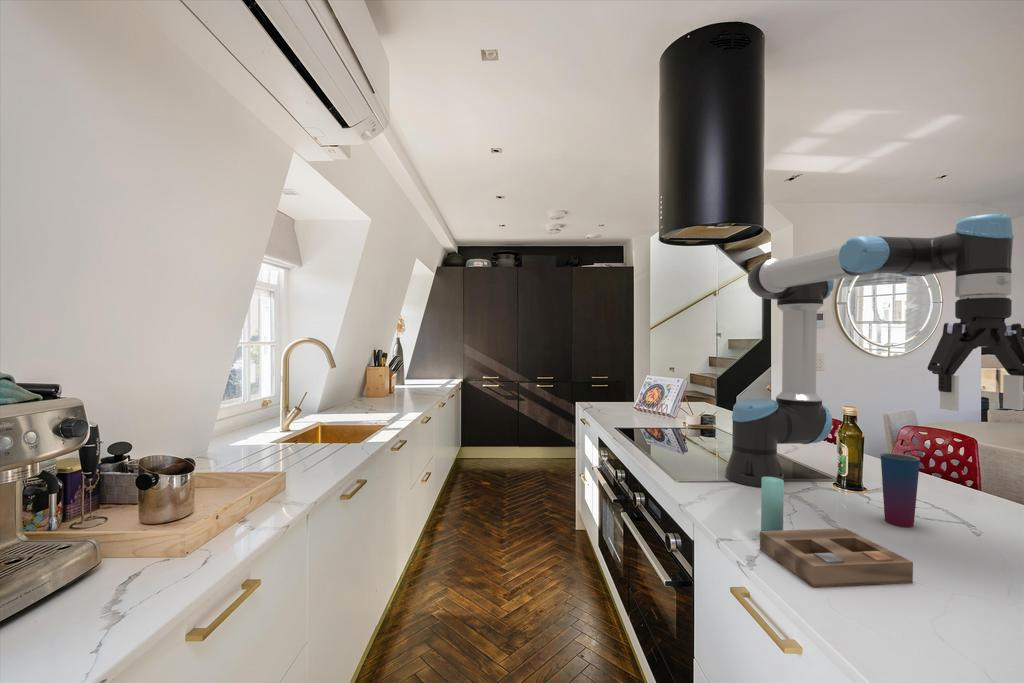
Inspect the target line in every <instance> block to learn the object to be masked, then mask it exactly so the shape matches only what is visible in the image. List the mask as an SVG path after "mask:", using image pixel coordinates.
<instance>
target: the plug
mask: <svg viewBox="0 0 1024 683" xmlns="http://www.w3.org/2000/svg"><path fill="white" fill-rule="evenodd" d="M784 482H785V480H782V479H780V478H775V477H762V487H761V492H760V493H761V494H760V495H761V496H760V497H761V505H760V507H761V508H760V514H761V515H760V517H761V519H760V531H781V530H784V503H785V502H784V501H785V500H784V497H785V496H784V490H785V489H784V488H785V484H784Z"/></svg>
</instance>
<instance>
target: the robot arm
mask: <svg viewBox="0 0 1024 683" xmlns="http://www.w3.org/2000/svg"><path fill="white" fill-rule="evenodd" d="M1012 224H1013V223H1012V218H1011V217H1010V216H1009V215H1008V214H1004V213H987V214H979V215H978V214H977V215H973V216H967V217H965V218H963V219H960V220H959V221H957V223H956V226H955V229H954V231H955V232H953V233H949V234H946V235H945V234H944V235H940V236H936V237H904V236H903V237H902V236H883V235H882V236H879V235H878V236H877V235H874V234H873V235H871V234H870V235H869V234H867V235H862V236H861V235H859V236H853V237H850V238H848V239H847V240H846V242H844V243H843V244H841V245H836V246H832V247H830V248H829V247H828V248H825V249H821V250H817V251H813V252H808V253H805V254H801V255H796V256H792V257H787V258H784V259H782V258H777V257H774V258H773V257H772V258H768V259H765V260H761V261H759V262H758V263H755V264H754V265H753V266H752V268H751V269H750V270H749V273H748V276H747V284H748V287H749V289H750V290H751V292H752V293H753V294H755V295H756V296H758V297H760V298H762V299H766V300H776V302H777V303H776V306H777V308H778V309H779V310H780V311H781V312H782V351H781V352H782V357H781V358H782V362H781V363H782V364H781V366H782V367H781V369H782V370H781V375H782V376H781V392H780V393H778V394H777V395H776V397H775V399H771V398H750V399H743V400H738V401H737V402H735V404H734V405H733V407H732V408H733V409H732V415H731V419H732V440H731V441H732V444H731V445H732V451H731V454H730V456H729V459H728V462H727V464H726V467H725V477H726V479H728V480H730V481H731V482H734V483H737V484H741V485H745V486H750V487H751V486H752V487H759V488H762V477H775V478H780V479H782V480H784V479H785V476H784V472H783V469H782V467H781V464H780V461H779V459H778V445H784V444H785V445H786V444H789V445H791V444H793V445H794V444H796V445H797V444H798V445H799V444H801V445H809V444H816V443H817V444H818V443H821V442H823V441H824V440H825V439H826V438H828V436H830V433H831V431H832V428H833V417H832V414H831V413H830V410H829V409H828V407H826V406H825V405H824V404H823V398H821V397H820V396H819V395H818V394H817V344H818V343H817V337H818V335H817V333H818V332H817V331H818V329H817V327H818V325H817V324H818V322H817V321H818V320H817V319H818V311H819V310H820V309H821V308H822V307H823V306H824V300H826V299H828V297H830V295H831V292H832V291H833V290H834V286H835V285H834V284H835V280H840V279H845V278H846V279H847V278H851V277H857V276H866V275H871V274H900V275H902V276H903V277H910V278H911V277H925V276H928V275H936V274H940V273H941V274H942V273H948V272H953V271H954V272H955V279H954V280H955V282H954V286H955V287H954V289H955V290H954V296H955V297H956V298H959V299H957V300H956V301H955V303H954V308H955V309H954V313H955V314H954V317H955V319H957V320H960V321H959V322H945V323H944V324H943V327H942V328H943V329H942V335H941V337H940V339H939V341H938V343H937V346H936V348H935V350H934V352H933V354H932V356H931V357H930V358H931V359H930V360H929V363H928V365H927V370H928V371H929V372H931V373H932V374H933V375H938V382H937V385H938V387H937V388H938V392H939V409H941V410H946V411H947V410H948V411H957V412H959V406H960V405H959V404H960V403H959V400H960V399H959V398H960V397H959V395H960V394H959V393H960V391H959V390H960V388H959V386H960V375H955V374H956V372H957V371H958V370H959V369H960V367H961V366H962V365H963V363H964V362H965V361H966V359H967V358H968V357H969V355H970V354H971V353H972V352H973V351H974V350H975V349H977V348H984V347H985V348H987V349H988V350H991V352H992V354H993V355H994V356H995V358H996V359H997V360H998V361H999V363H1000V365H1001V366H1002V367H1003V368H1004V370H1005V371H1006V373H1007V374H1003V375H1002V376H1003V380H1002V381H1003V382H1002V383H1003V384H1002V385H1003V386H1002V392H1003V393H1002V409H1007V410H1012V411H1013V410H1014V411H1024V336H1023V330H1022V329H1023V328H1022V324H1021V323H1006V322H1005V321H1006V320H1007V319H1009V318H1011V317H1012V308H1013V306H1012V305H1013V304H1012V300H1013V299H1011V298H1010V297H1007V296H1011V294H1012V273H1013V270H1012V255H1013V244H1014V242H1013V241H1014V238H1015V237H1014V235H1013V225H1012ZM784 481H785V480H784Z"/></svg>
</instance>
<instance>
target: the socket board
mask: <svg viewBox="0 0 1024 683" xmlns="http://www.w3.org/2000/svg"><path fill="white" fill-rule="evenodd" d="M759 550H760V551H761V552H763V553H765V554H766V555H768V556H769V557H770V558H772V559H773V560H775V561H776V562H777V563H779V564H781V566H783V567H784V568H786V569H787V570H789V571H790V572H791V573H792V574H794V575H796V576H797V577H798V578H800V579H801V580H802V581H804V582H806V583H807V584H808V585H810V586H811V587H812V588H827V587H828V588H829V587H832V588H833V587H851V586H852V587H853V586H871V585H873V586H874V585H876V586H877V585H893V584H894V585H895V584H897V583H898V584H913V582H914V579H913V578H914V574H913V573H914V562H913V561H911V560H910V559H907V558H905V557H904V556H901V555H899V554H898V553H897V552H896V553H895V552H894V551H891V549H888V548H886V547H884V546H881V545H879V544H878V543H876V542H873V541H871V540H870V539H868V538H865V537H864V536H861V535H859V534H857V533H855V532H854V531H851V530H850V529H847V528H844V527H842V528H817V529H811V528H810V529H788V530H787V529H785V530H784V529H783V530H781V531H761V530H760V531H759Z"/></svg>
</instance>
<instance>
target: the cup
mask: <svg viewBox="0 0 1024 683" xmlns="http://www.w3.org/2000/svg"><path fill="white" fill-rule="evenodd" d="M920 461H921V459H920V457H917V456H914V455H910V454H906V453H905V454H904V453H897V452H882V453H880V465H881V480H882V496H883V498H882V499H883V511H884V512H883V513H884V515H883V516H884V521H885V522H886V523H888V524H889V525H893V526H897V527H901V528H913V527H915V517H916V516H915V515H916V505H917V493H918V483H919V473H920V463H921V462H920Z"/></svg>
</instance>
